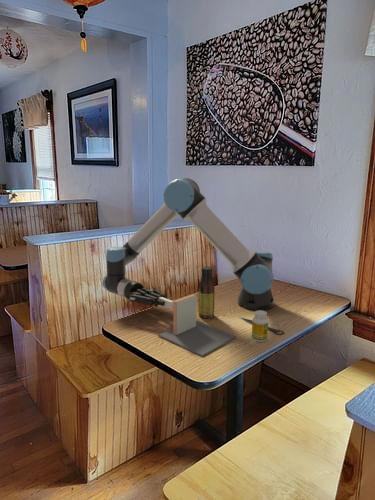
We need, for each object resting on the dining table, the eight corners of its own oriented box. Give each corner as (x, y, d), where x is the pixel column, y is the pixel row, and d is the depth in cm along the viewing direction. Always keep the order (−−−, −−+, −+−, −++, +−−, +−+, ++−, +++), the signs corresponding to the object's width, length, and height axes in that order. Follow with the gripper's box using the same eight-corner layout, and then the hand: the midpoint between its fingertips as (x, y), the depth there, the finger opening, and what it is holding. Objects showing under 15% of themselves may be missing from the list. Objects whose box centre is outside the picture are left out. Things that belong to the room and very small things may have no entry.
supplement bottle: (254, 333, 129) (255, 308, 127) (269, 337, 127) (271, 311, 124) (249, 340, 124) (250, 313, 122) (264, 343, 122) (266, 316, 120)
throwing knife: (279, 337, 127) (279, 335, 127) (235, 319, 142) (235, 318, 142) (286, 333, 130) (286, 331, 130) (242, 316, 145) (242, 315, 144)
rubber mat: (158, 336, 126) (158, 334, 126) (193, 320, 139) (193, 319, 139) (202, 356, 113) (202, 355, 113) (236, 337, 126) (236, 336, 126)
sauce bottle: (203, 311, 148) (205, 264, 144) (217, 315, 145) (218, 266, 140) (194, 316, 143) (195, 267, 138) (208, 320, 139) (209, 270, 135)
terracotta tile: (173, 333, 127) (173, 301, 124) (192, 325, 134) (193, 294, 131) (176, 335, 126) (177, 302, 123) (196, 326, 133) (196, 295, 130)
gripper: (143, 294, 153) (184, 310, 137) (118, 302, 143) (159, 320, 128) (143, 277, 151) (185, 291, 135) (117, 284, 142) (159, 300, 126)
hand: (172, 305), depth 132 cm, fingers closed
